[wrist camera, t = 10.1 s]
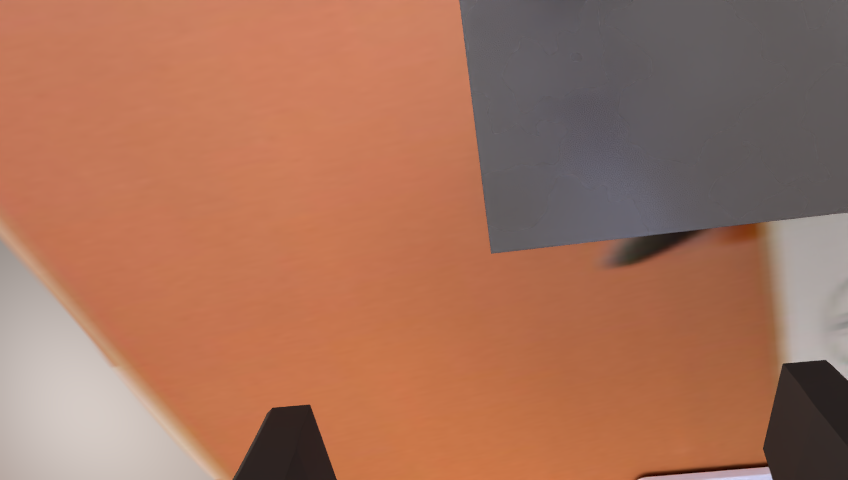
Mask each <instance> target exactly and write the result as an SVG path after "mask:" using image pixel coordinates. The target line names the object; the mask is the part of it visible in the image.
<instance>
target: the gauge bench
mask: <svg viewBox="0 0 848 480" xmlns="http://www.w3.org/2000/svg"><path fill="white" fill-rule="evenodd" d="M459 1H460V9H461V17H462V25H463V33H464V41H465V49H466V57H467V65H468V72H469V80H470V88H471V96H472V104H473V112H474V120H475V128H476V136H477V144H478V152H479V160H480V168H481V176H482V184H483V192H484V200H485V208H486V216H487V224H488V232H489V239H490V247H491V254H492V253H501V252H509V251H518V250H527V249H535V248H544V247H553V246H561V245H570V244H579V243H587V242H596V241H604V240H613V239H622V238H630V237H639V236H648V235H656V234H665V233H674V232H682V231H691V230H700V229H708V228H717V227H726V226H734V225H743V224H751V223H760V222H769V221H777V220H786V219H795V218H803V217H812V216H821V215H829V214H838V213H847V212H848V0H459Z"/></svg>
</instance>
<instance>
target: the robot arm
mask: <svg viewBox="0 0 848 480" xmlns="http://www.w3.org/2000/svg"><path fill="white" fill-rule="evenodd" d="M763 450H764V453H765V456H766V460H767V463H768V466H769V467H760V468H748V469H736V470H724V471H712V472H700V473H688V474H676V475H664V476H652V477H643V478H640V479H638V480H848V380H847V379H846V378H844V377H843V376H842V375H841V374H840V373H839V372H838V371H837V370H836V369H835V368H834V367H833V366H832V365H831V364H830V363H829V362H827V361H826V360H821V361H809V362H798V363H786V364H783V365H782V370H781V374H780V378H779V383H778V387H777V391H776V395H775V400H774V404H773V408H772V412H771V417H770V421H769V425H768V430H767V434H766V438H765V442H764V447H763ZM233 480H337V479H336V476H335V474H334V471H333V468H332V465H331V462H330V460H329V457H328V454H327V451H326V448H325V445H324V443H323V440H322V437H321V434H320V431H319V429H318V426H317V423H316V420H315V417H314V415H313V412H312V409H311V406H310V405H300V406H289V407H277V408H272V409H271V410H270V411H269V412H268V413H267V415H266V417H265V419H264V421H263V423H262V425H261V427H260V429H259V431H258V433H257V435H256V437H255V439H254V441H253V443H252V445H251V447H250V448H249V450H248V452H247V454H246V456H245V458H244V460H243V462H242V464H241V465H240V467H239V469H238V471H237V473H236V475H235V476H234V478H233Z"/></svg>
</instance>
